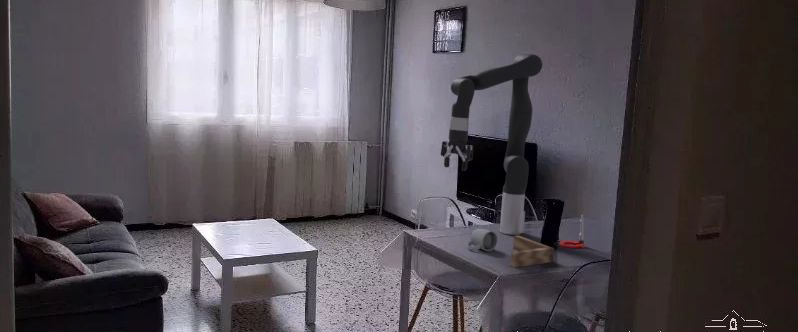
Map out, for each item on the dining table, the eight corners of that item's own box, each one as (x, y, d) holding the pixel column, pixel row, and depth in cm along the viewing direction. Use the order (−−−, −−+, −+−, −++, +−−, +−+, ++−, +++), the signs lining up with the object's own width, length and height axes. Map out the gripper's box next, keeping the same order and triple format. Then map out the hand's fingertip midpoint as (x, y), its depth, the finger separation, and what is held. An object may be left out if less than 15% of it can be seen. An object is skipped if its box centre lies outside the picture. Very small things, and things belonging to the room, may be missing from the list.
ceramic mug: (482, 244, 236) (483, 225, 235) (497, 250, 229) (498, 230, 228) (461, 248, 230) (463, 228, 229) (476, 253, 223) (477, 233, 222)
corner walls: (516, 247, 234) (518, 235, 233) (552, 261, 218) (554, 248, 217) (479, 252, 224) (480, 239, 223) (514, 267, 208) (515, 253, 207)
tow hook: (561, 248, 238) (585, 249, 238) (563, 216, 237) (587, 217, 236) (557, 243, 247) (580, 243, 246) (558, 212, 245) (581, 212, 245)
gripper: (439, 126, 242) (435, 166, 245) (468, 130, 233) (464, 172, 235) (450, 126, 248) (446, 165, 250) (479, 130, 239) (475, 171, 241)
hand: (455, 168), depth 243 cm, fingers open, 8 cm apart
